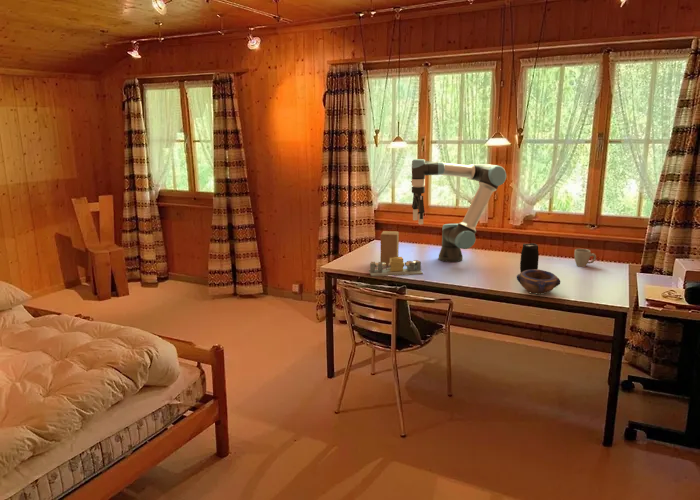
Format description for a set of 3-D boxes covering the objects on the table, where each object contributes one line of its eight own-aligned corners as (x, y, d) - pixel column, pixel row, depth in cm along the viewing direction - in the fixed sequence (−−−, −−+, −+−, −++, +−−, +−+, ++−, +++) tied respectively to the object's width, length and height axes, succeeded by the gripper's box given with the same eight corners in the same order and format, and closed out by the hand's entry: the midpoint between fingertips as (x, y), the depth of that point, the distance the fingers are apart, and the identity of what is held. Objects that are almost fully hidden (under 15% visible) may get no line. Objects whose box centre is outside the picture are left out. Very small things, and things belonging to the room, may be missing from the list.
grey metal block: (417, 270, 309) (417, 260, 308) (420, 272, 305) (420, 261, 304) (404, 271, 306) (404, 261, 305) (407, 273, 302) (407, 263, 301)
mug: (573, 266, 314) (574, 251, 312) (573, 263, 322) (575, 248, 320) (594, 268, 309) (596, 253, 307) (595, 265, 317) (596, 249, 315)
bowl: (537, 299, 255) (538, 280, 253) (511, 289, 271) (512, 271, 269) (564, 294, 263) (565, 275, 260) (537, 285, 279) (538, 267, 276)
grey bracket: (385, 272, 305) (385, 262, 304) (385, 274, 301) (385, 264, 300) (371, 271, 307) (371, 261, 305) (370, 273, 302) (370, 263, 301)
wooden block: (396, 266, 317) (396, 234, 313) (380, 266, 319) (380, 234, 315) (398, 262, 327) (398, 231, 322) (382, 261, 329) (382, 230, 324)
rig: (418, 269, 310) (418, 266, 310) (422, 274, 301) (422, 271, 300) (368, 271, 307) (368, 268, 307) (371, 276, 297) (371, 273, 297)
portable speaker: (537, 281, 286) (540, 246, 281) (519, 280, 288) (521, 245, 283) (536, 276, 294) (539, 243, 289) (519, 275, 296) (521, 242, 291)
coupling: (403, 269, 307) (403, 256, 305) (404, 272, 302) (405, 258, 300) (387, 270, 306) (388, 257, 304) (389, 272, 301) (389, 259, 299)
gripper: (407, 184, 314) (407, 218, 319) (417, 189, 290) (416, 226, 295) (419, 183, 315) (419, 218, 320) (430, 188, 290) (429, 225, 296)
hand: (418, 222), depth 307 cm, fingers open, 13 cm apart
